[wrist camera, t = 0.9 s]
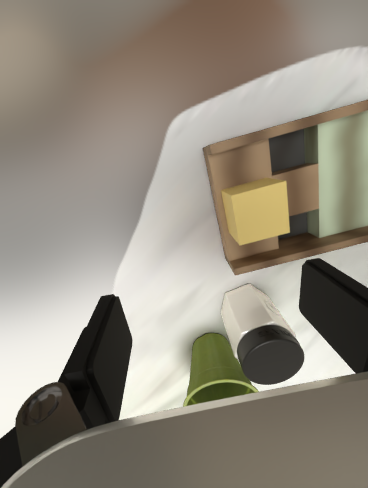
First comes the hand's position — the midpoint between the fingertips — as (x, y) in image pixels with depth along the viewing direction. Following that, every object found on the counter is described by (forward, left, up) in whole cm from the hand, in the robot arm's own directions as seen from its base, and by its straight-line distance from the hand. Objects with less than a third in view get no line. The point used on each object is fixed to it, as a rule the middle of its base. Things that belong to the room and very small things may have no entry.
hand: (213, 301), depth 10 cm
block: (-8, +1, -19) cm, 20 cm away
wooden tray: (-16, +1, -22) cm, 27 cm away
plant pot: (+2, +28, -22) cm, 35 cm away
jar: (-6, +20, -22) cm, 30 cm away
